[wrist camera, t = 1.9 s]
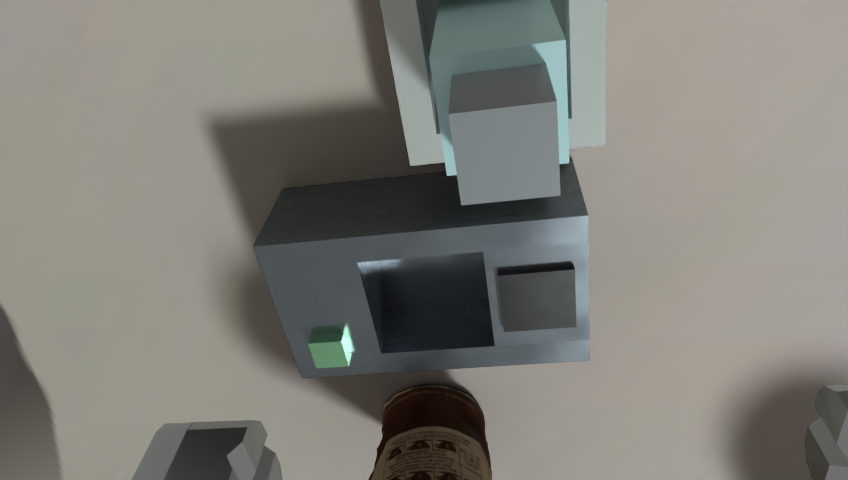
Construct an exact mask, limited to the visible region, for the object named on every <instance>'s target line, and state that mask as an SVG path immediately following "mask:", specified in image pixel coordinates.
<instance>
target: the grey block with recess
mask: <svg viewBox="0 0 848 480" xmlns="http://www.w3.org/2000/svg"><path fill="white" fill-rule="evenodd" d="M559 168H560V194H561V196H552V197H542V198H531V199H521V200H511V201H501V202H491V203H481V204H471V205H461V201H460V193H459V186H458V179H457V175H452V176H447V173H446V172H437V173H428V174H419V175H409V176H400V177H390V178H381V179H372V180H362V181H353V182H343V183H334V184H325V185H315V186H306V187H296V188H287V189H282V191H281V193H280V195H279V197H278V199H277V201H276V203H275V205H274V207H273V209H272V211H271V213H270V214H269V216H268V218H267V220H266V222H265V224H264V226H263V228H262V230H261V232H260V234H259V236H258V238H257V240H256V242H255V244H254V246H253V248H254V251H255V254H256V256H257V259H258V262H259V264H260V267H261V270H262V272H263V275H264V278H265V281H266V283H267V286H268V289H269V291H270V294H271V297H272V299H273V302H274V305H275V308H276V310H277V313H278V316H279V318H280V321H281V324H282V326H283V329H284V332H285V335H286V337H287V340H288V343H289V345H290V348H291V351H292V353H293V356H294V359H295V362H296V364H297V367H298V370H299V372H300V375H301V378H313V377H330V376H346V375H362V374H378V373H394V372H410V371H427V370H443V369H459V368H475V367H491V366H508V365H524V364H540V363H556V362H572V361H588V360H590V335H589V243H588V213H587V209H586V206H585V202H584V199H583V195H582V192H581V188H580V185H579V181H578V178H577V174H576V171H575V167H574V164H573V160H572V158H569V163H566V164H559Z"/></svg>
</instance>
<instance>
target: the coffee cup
mask: <svg viewBox="0 0 848 480" xmlns="http://www.w3.org/2000/svg"><path fill="white" fill-rule="evenodd" d="M382 424H383V426H382V433H383V437H382V440H381V443H380V445H379V447H378V448H377V457H376V461H375V466H374V470H373V472H372V474H371V475H370V478H369V480H492V471H491V463H490V455H489V450H488V444H487V441H486V436H485V420H484V415H483V412H482V410H481V409H480V407H479V405H478V404H477V403H476V401H475V400H474V399H473V398H471V397H470V396H469V395H467V394H465V393H463V392H461V391H458V390H455V389H452V388H448V387H445V386H438V385H430V386H419V387H413V388H410V389H407V390H405V391H402V392H399V393H397V394H395V395H394V396H393V397H392V398H391V399H390V400H388V401H387V402H386V403H385V404H384V408H383V418H382Z"/></svg>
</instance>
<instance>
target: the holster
mask: <svg viewBox="0 0 848 480" xmlns="http://www.w3.org/2000/svg"><path fill="white" fill-rule="evenodd" d="M439 1H440V0H380V6H381V11H382V16H383V22H384V27H385V33H386V38H387V43H388V49H389V54H390V60H391V65H392V70H393V76H394V81H395V86H396V92H397V97H398V103H399V108H400V113H401V119H402V124H403V130H404V135H405V140H406V146H407V151H408V156H409V162H410V166H415V165H425V164H434V163H443V162H445V160H444V153H443V147H442V140H441V134H440V127H439V120H438V114H437V107H436V101H435V94H434V87H433V81H432V74H431V67H430V61H429V56H430V50H431V45H432V39H433V34H434V28H435V23H436V17H437V12H438V6H439ZM550 2H551V4H552V7H553V9H554V12H555V14H556V17H557V19H558V22H559V24H560V27H561V29H562V31H563V34H564V36H565V39H566V61H567V96H568V130H569V149H572V148H581V147H591V146H600V145H606V21H607V0H550Z"/></svg>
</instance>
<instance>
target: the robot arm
mask: <svg viewBox="0 0 848 480" xmlns="http://www.w3.org/2000/svg"><path fill="white" fill-rule="evenodd" d="M814 405H815V407H816V408H817V410H818V412H819V414H820V415H821V417H820V418H818V419H817V420H816V421H814V422H813V423H812V424H811V425H809V426H808V430H807V435H806V439H805V449H806V457H807V463H808V466H809V469H810V472H811V475H812V478H813V480H848V384H845V385H831V386H824V387H823V388H822V389H821V390H820V391H819V392H818V394H817V398H816V401H815V404H814ZM266 438H267V433H266V431H265V429H264V427H263V425H262V423H261V421H257V420H247V421H214V422H191V423H167V424H164V425H163V426H162V427H161V428H160V429H159V430H158V431H157V432H156V433H155V435H154V437H153V439H152V441H151V443H150V445H149V447H148V449H147V451H146V452H145V454H144V456H143V458H142V460H141V462H140V464H139V466H138V468H137V470H136V472H135V474H134V476H133V478H132V480H282V472H281V466H280V462H279V460H278V457H277V455H276V453H275V452H273V451H272V450H270V449H269V448H267V447H266V446H264V444H265V441H266Z"/></svg>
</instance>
